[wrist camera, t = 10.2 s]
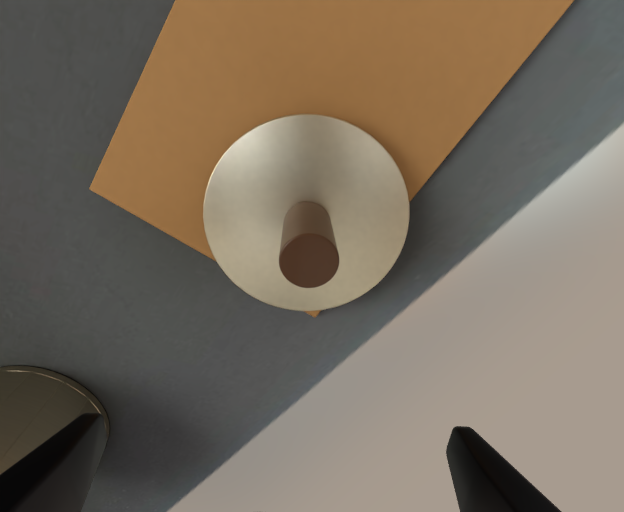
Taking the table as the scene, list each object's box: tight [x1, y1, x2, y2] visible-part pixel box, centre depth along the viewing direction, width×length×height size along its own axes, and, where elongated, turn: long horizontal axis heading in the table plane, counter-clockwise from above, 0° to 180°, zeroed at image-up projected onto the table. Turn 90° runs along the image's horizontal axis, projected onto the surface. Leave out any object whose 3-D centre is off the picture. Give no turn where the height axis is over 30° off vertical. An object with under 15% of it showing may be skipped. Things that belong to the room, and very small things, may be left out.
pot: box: [0, 366, 110, 474], centre depth 22 cm, size 9×9×6 cm
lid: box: [203, 114, 409, 311], centre depth 17 cm, size 10×10×6 cm
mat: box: [89, 0, 574, 317], centre depth 17 cm, size 14×22×1 cm, turn 145°
